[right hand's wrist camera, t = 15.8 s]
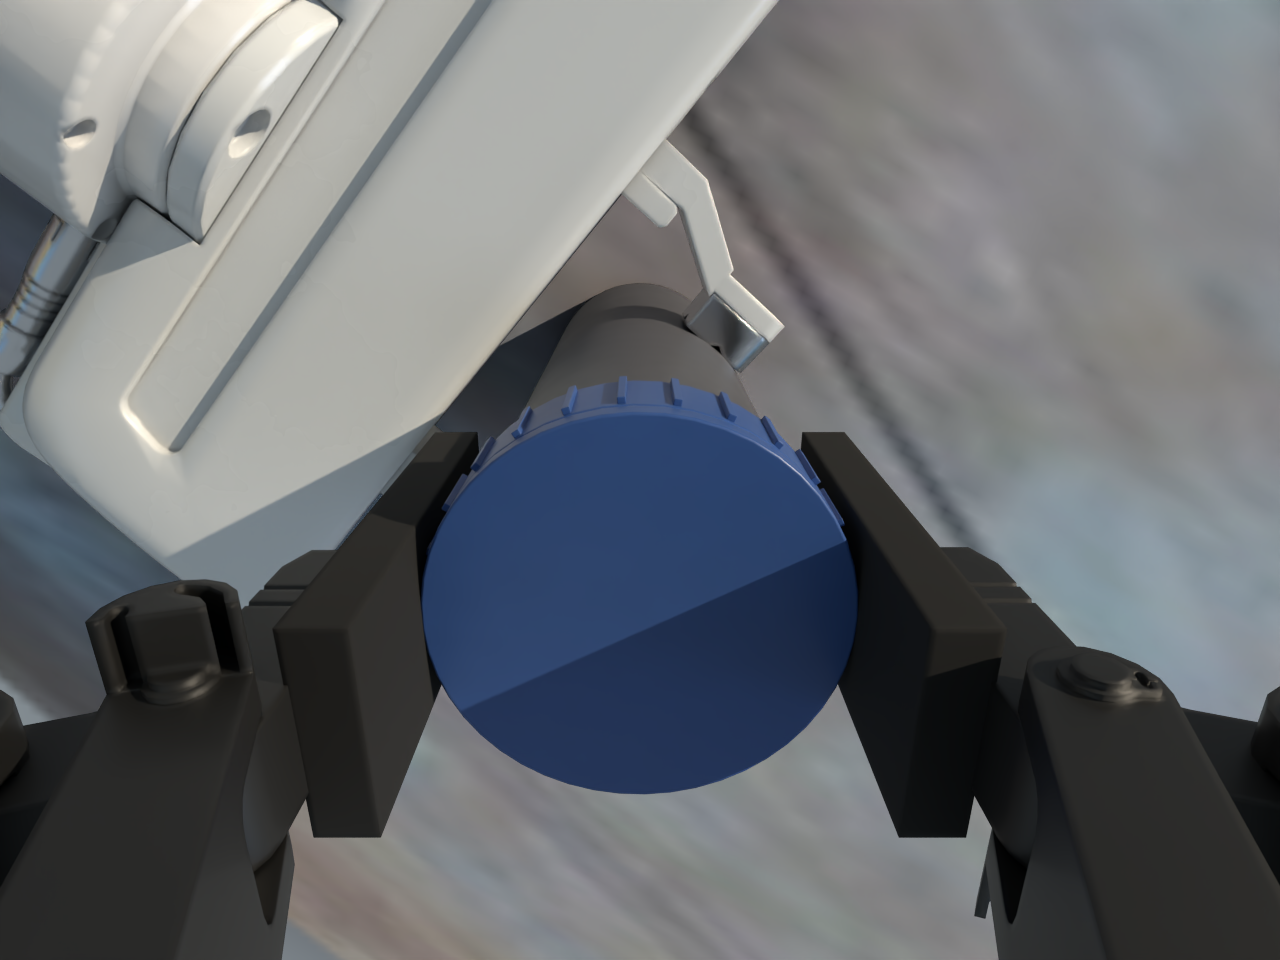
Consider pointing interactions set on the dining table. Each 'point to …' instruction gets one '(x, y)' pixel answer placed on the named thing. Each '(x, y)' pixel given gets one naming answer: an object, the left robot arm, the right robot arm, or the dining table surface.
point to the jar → (636, 347)
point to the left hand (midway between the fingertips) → (667, 445)
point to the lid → (639, 589)
